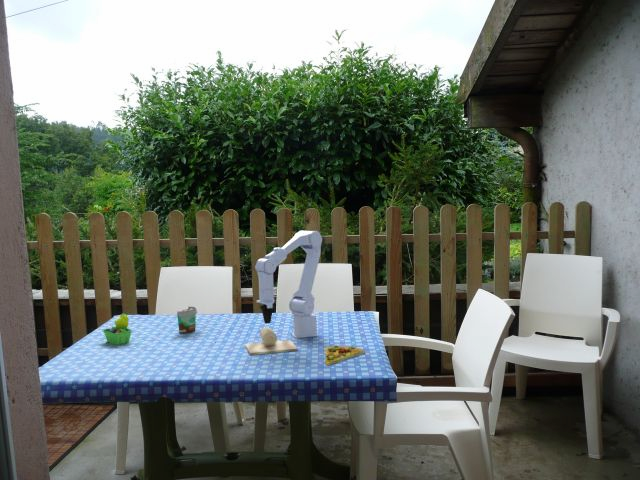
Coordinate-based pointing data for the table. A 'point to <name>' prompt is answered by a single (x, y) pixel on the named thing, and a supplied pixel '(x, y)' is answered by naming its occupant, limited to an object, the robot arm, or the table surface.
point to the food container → (187, 320)
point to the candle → (268, 336)
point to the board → (270, 347)
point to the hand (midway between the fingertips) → (267, 323)
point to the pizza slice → (341, 353)
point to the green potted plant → (119, 331)
